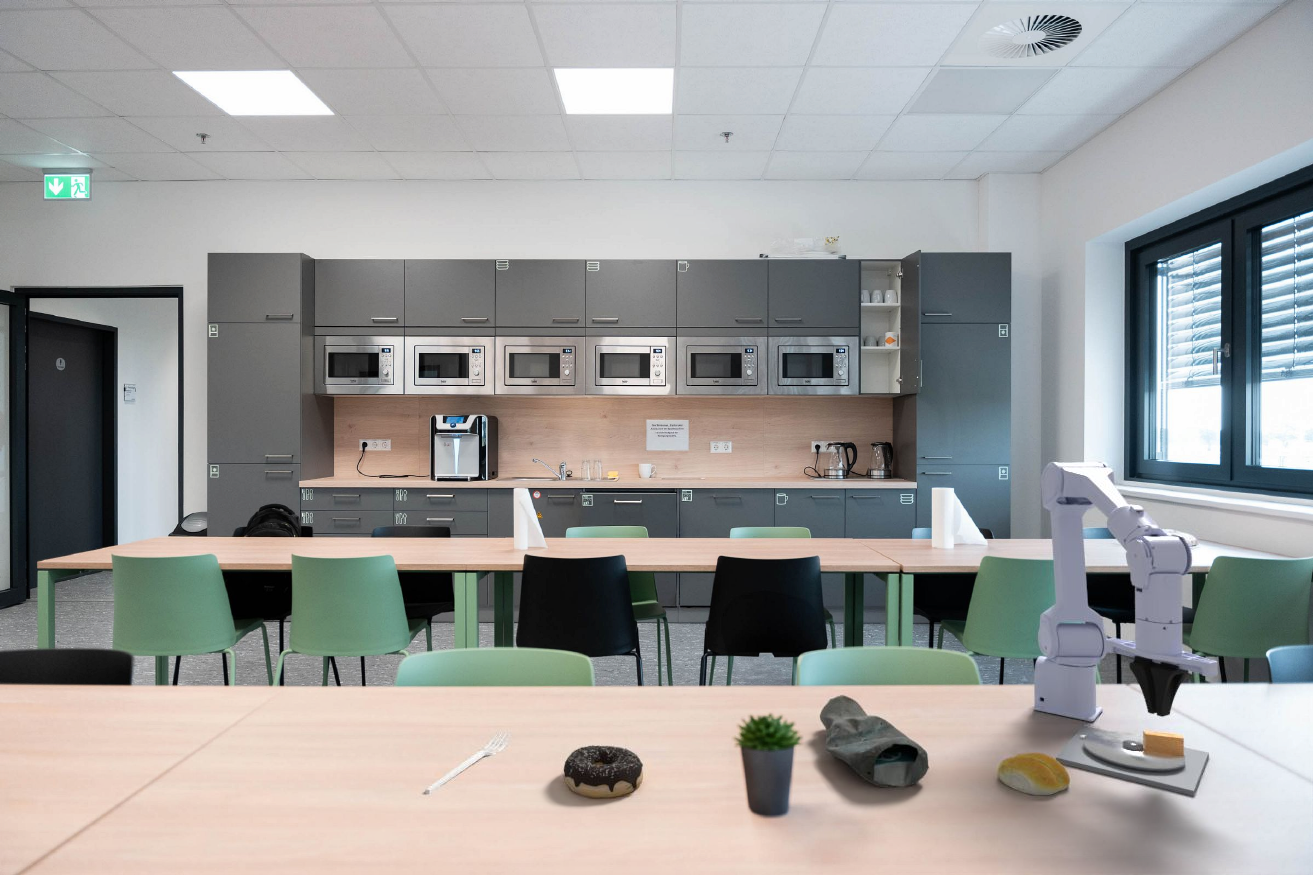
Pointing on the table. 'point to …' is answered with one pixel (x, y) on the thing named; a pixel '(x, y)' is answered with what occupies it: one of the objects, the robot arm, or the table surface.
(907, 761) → the crumpled grey pouch
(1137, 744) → the handwheel
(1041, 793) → the bread roll
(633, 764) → the donut
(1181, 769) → the base plate
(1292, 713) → the table surface
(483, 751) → the fork
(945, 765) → the table surface
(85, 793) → the table surface
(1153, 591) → the robot arm
